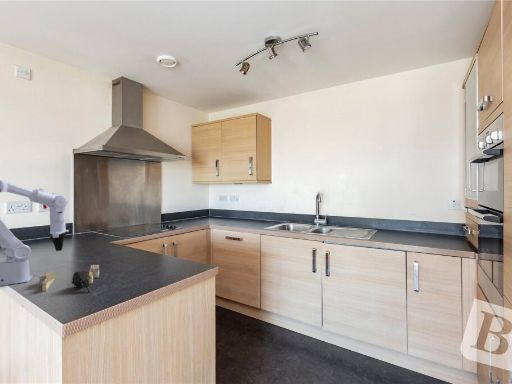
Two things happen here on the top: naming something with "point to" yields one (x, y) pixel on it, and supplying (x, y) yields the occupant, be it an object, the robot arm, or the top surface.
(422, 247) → the top surface
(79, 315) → the top surface
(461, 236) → the top surface
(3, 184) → the robot arm
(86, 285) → the power plug
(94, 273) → the guide channel
